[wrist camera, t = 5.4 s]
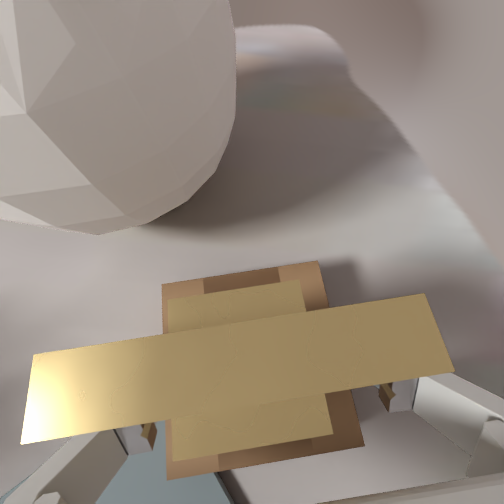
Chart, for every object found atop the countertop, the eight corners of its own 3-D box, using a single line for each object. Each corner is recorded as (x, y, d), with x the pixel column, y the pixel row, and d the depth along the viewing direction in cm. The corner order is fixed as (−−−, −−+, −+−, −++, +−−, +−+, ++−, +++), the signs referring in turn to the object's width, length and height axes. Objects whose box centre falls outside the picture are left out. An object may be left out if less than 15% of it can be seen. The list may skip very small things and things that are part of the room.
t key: (317, 375, 17) (481, 437, 5) (195, 395, 17) (10, 520, 4) (305, 319, 18) (406, 247, 6) (192, 337, 18) (40, 302, 6)
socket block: (346, 429, 16) (365, 446, 13) (183, 457, 16) (166, 480, 13) (309, 273, 20) (317, 260, 17) (175, 294, 19) (161, 284, 16)
